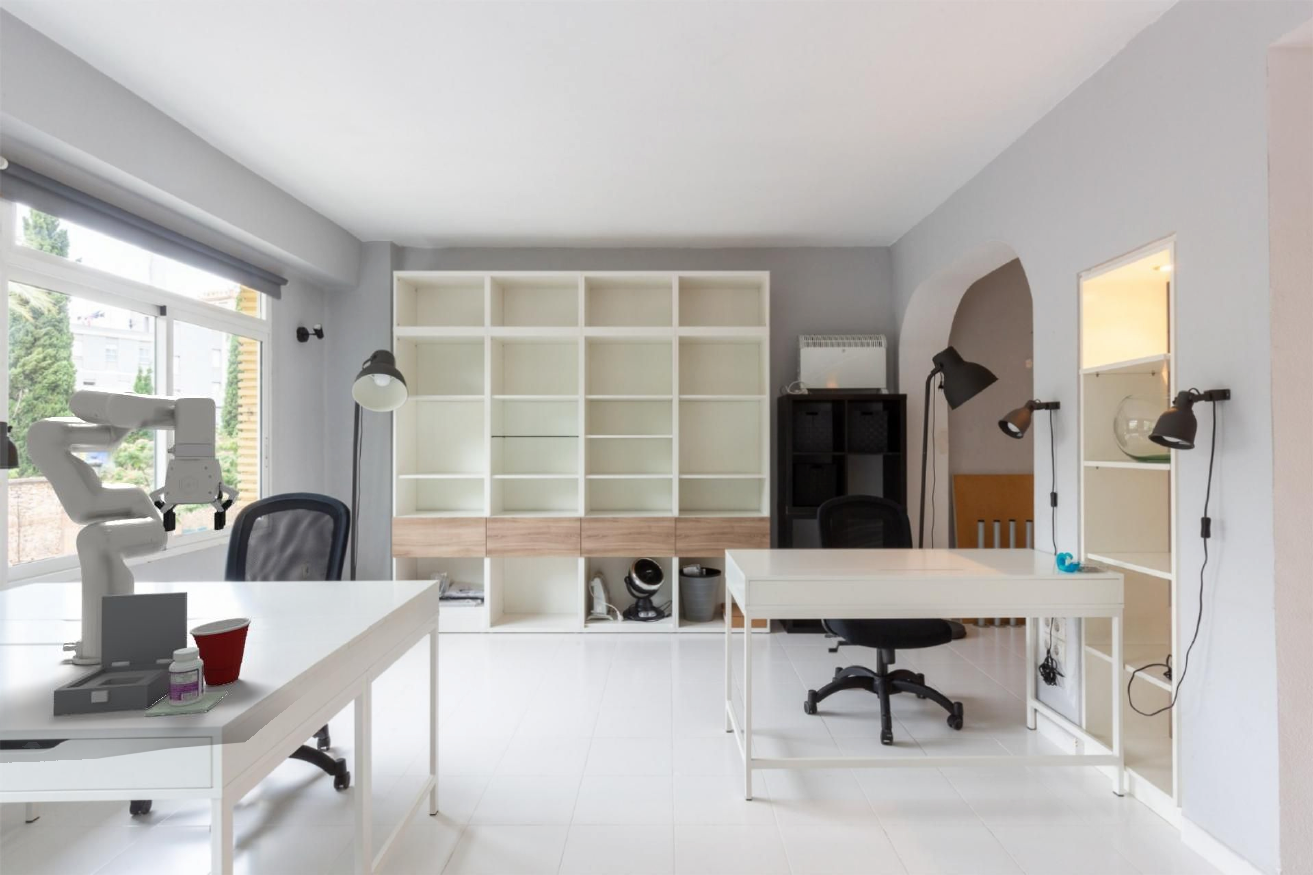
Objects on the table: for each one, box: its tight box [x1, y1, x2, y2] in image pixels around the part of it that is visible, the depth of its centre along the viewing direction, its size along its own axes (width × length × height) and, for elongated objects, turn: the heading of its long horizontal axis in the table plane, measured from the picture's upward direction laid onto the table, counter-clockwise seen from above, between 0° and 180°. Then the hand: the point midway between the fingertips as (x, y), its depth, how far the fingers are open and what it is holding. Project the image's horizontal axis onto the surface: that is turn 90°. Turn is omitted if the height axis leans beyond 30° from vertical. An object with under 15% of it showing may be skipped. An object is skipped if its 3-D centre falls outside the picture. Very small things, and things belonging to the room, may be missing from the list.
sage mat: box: [143, 691, 228, 718], centre depth 126 cm, size 10×9×1 cm
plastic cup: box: [189, 617, 252, 687], centre depth 139 cm, size 11×11×12 cm
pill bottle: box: [168, 646, 205, 706], centre depth 127 cm, size 5×5×10 cm
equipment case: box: [53, 591, 188, 717], centre depth 130 cm, size 15×16×18 cm
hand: (194, 530), depth 148 cm, fingers open, 9 cm apart
